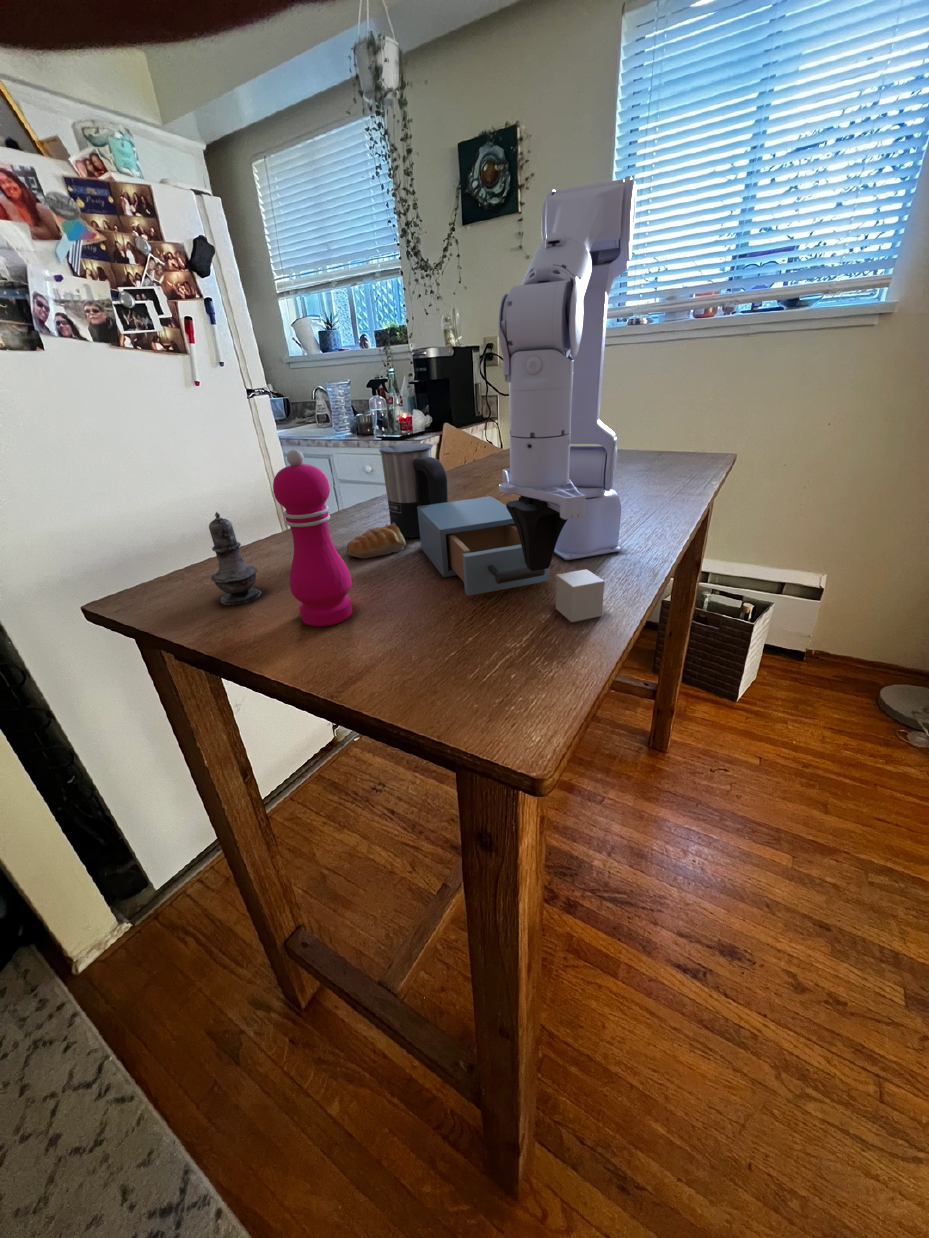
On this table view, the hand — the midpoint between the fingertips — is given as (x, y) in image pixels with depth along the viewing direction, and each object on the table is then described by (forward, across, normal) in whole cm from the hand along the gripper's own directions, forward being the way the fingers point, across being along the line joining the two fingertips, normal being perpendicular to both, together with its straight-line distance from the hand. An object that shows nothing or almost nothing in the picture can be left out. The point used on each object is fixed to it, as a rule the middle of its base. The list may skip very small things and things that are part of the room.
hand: (538, 567), depth 54 cm
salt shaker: (+8, -24, -34) cm, 42 cm away
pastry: (+8, -34, -12) cm, 37 cm away
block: (+7, -2, +6) cm, 10 cm away
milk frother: (+8, -42, 0) cm, 43 cm away
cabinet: (+7, -26, 0) cm, 27 cm away
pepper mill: (+8, -14, -22) cm, 27 cm away
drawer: (+6, -14, 0) cm, 15 cm away
